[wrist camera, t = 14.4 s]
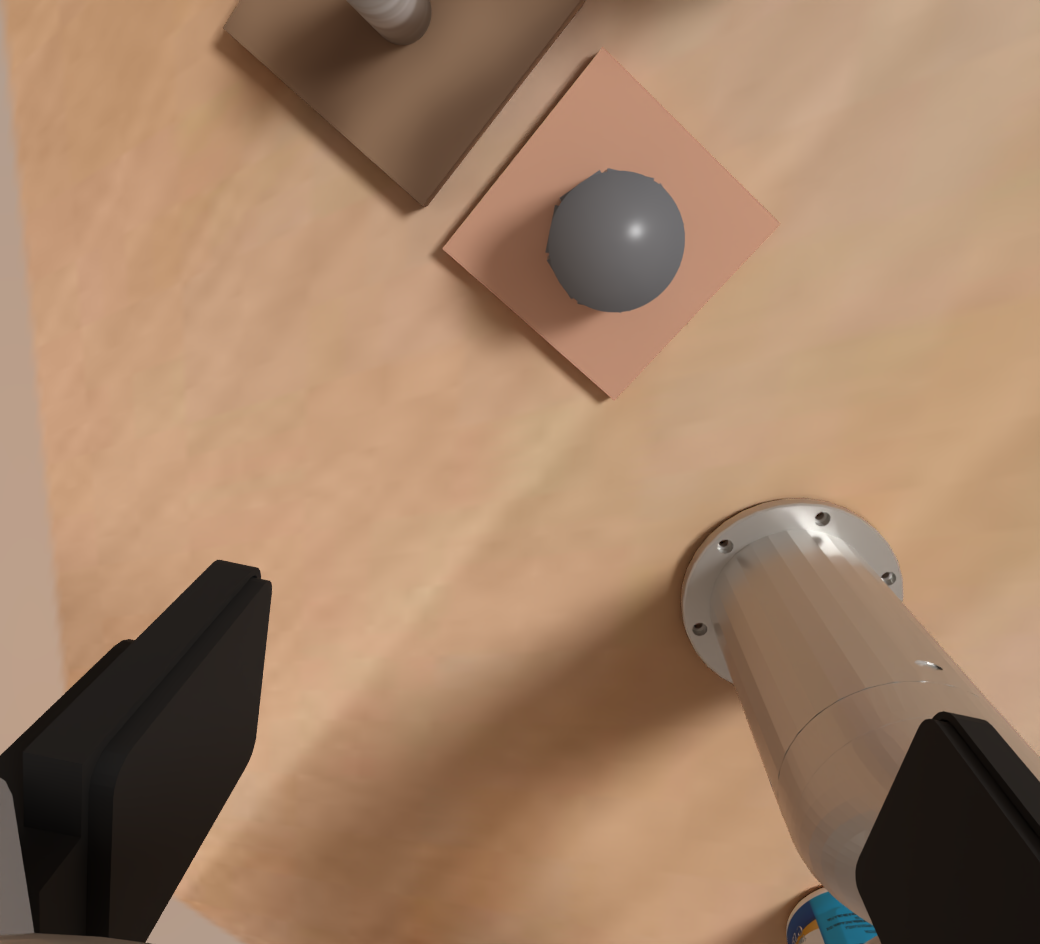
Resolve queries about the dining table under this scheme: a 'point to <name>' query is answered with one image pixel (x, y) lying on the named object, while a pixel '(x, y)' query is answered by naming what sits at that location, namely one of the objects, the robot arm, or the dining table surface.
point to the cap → (616, 241)
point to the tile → (569, 161)
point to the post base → (404, 70)
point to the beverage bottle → (826, 922)
